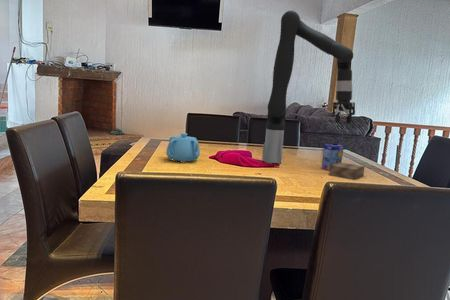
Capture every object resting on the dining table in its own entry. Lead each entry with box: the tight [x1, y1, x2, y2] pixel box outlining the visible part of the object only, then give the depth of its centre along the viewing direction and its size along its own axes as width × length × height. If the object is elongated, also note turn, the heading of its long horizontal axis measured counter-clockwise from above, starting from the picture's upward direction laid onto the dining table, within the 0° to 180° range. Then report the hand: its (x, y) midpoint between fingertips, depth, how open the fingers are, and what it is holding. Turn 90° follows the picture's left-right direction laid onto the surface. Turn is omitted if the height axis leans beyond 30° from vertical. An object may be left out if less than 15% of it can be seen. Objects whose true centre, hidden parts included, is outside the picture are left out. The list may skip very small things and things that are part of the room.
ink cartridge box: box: [321, 140, 345, 171], centre depth 193 cm, size 10×6×14 cm, turn 130°
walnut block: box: [328, 162, 365, 181], centre depth 179 cm, size 12×12×5 cm
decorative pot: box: [165, 132, 201, 162], centre depth 190 cm, size 16×16×14 cm
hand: (343, 123), depth 193 cm, fingers open, 8 cm apart
